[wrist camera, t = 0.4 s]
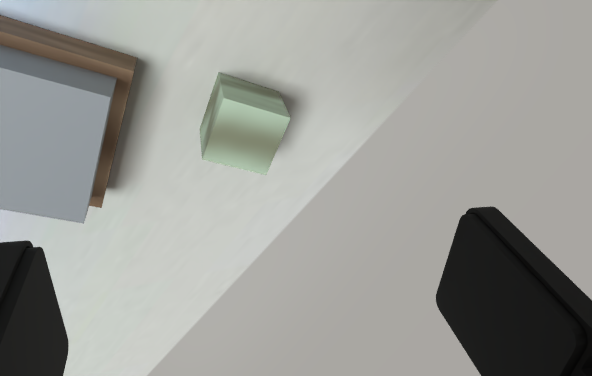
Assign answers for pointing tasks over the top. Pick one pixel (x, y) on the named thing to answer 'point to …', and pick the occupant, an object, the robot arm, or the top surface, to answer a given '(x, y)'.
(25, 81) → the tower top block
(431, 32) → the top surface
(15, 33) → the tower base block
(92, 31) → the top surface
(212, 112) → the sage cube
